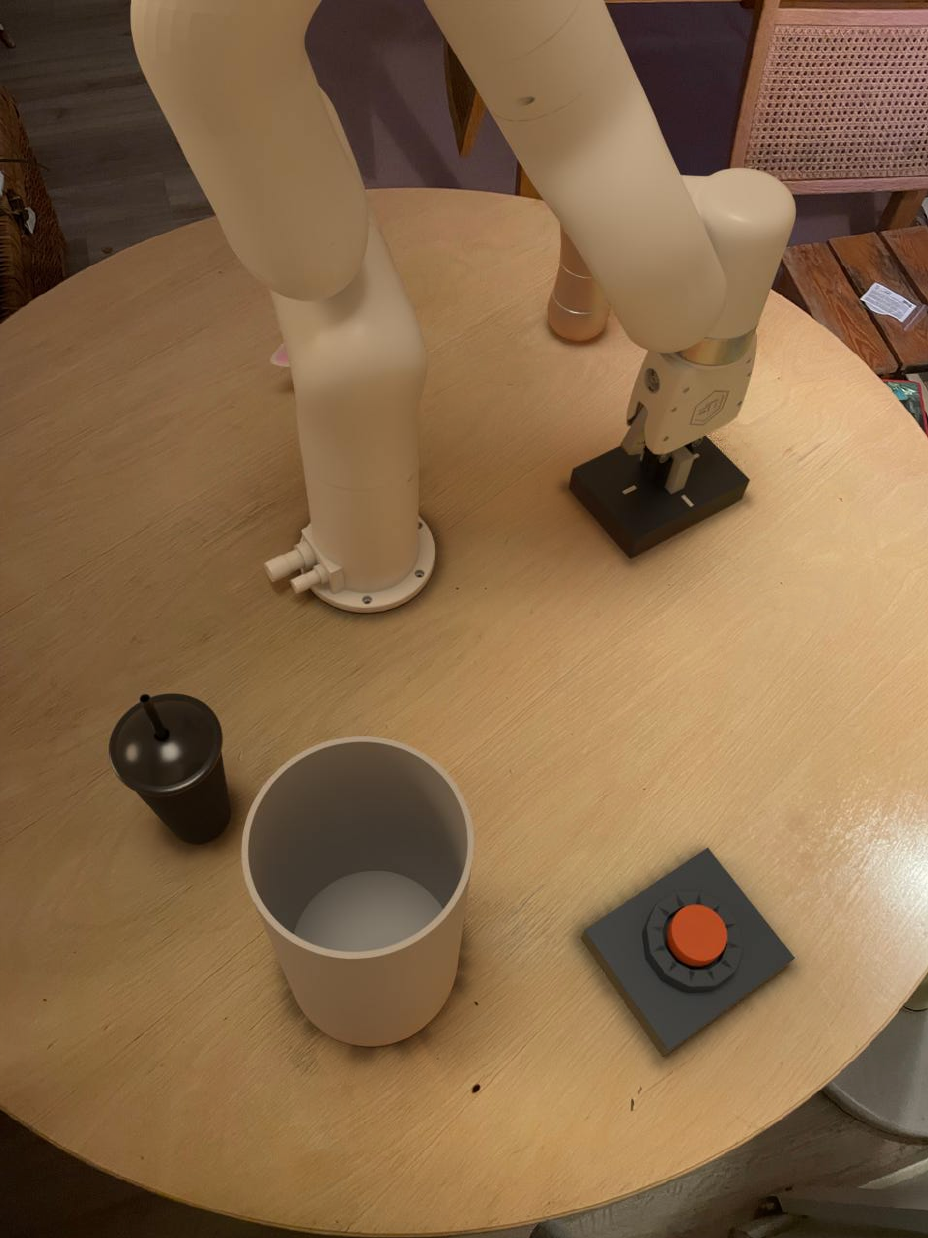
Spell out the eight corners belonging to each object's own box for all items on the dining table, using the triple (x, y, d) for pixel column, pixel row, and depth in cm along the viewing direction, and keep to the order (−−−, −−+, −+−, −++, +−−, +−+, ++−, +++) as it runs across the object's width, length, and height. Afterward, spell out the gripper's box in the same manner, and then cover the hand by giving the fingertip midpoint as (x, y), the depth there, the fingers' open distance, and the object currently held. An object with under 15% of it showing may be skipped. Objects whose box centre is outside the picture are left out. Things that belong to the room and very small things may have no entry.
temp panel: (630, 559, 98) (636, 539, 95) (568, 488, 102) (572, 467, 99) (742, 499, 102) (751, 478, 99) (678, 433, 106) (684, 412, 104)
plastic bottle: (607, 350, 113) (641, 187, 96) (545, 347, 112) (568, 184, 95) (603, 309, 116) (635, 145, 99) (543, 306, 116) (565, 141, 99)
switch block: (662, 1057, 74) (674, 1047, 71) (580, 938, 79) (587, 923, 75) (786, 965, 78) (803, 951, 75) (701, 856, 82) (713, 839, 79)
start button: (690, 978, 74) (695, 972, 72) (655, 930, 76) (659, 923, 74) (732, 947, 75) (739, 941, 74) (697, 901, 77) (702, 894, 75)
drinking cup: (207, 881, 80) (150, 776, 63) (131, 829, 82) (56, 714, 65) (268, 802, 83) (230, 683, 66) (194, 755, 85) (139, 627, 68)
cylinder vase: (267, 914, 79) (213, 782, 57) (420, 853, 82) (422, 706, 61) (321, 1078, 73) (283, 998, 52) (484, 1006, 76) (511, 902, 55)
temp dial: (684, 488, 99) (695, 454, 95) (671, 494, 98) (682, 461, 94) (652, 453, 101) (662, 419, 97) (639, 459, 100) (648, 426, 96)
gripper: (659, 389, 80) (619, 533, 95) (811, 319, 85) (749, 467, 100) (602, 329, 83) (572, 478, 99) (751, 265, 88) (701, 417, 103)
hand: (662, 471), depth 99 cm, fingers closed on temp dial
